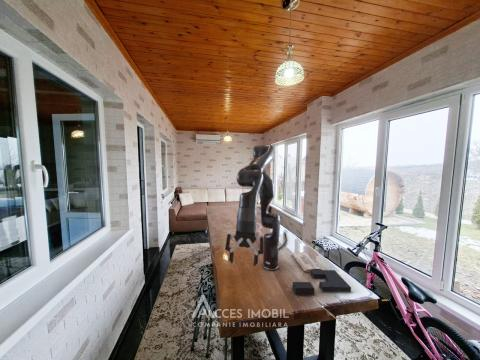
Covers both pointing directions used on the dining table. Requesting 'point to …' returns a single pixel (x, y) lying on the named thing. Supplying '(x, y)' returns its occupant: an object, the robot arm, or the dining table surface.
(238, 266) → the dining table surface
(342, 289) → the notched mat
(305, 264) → the newspaper
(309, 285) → the black pad
